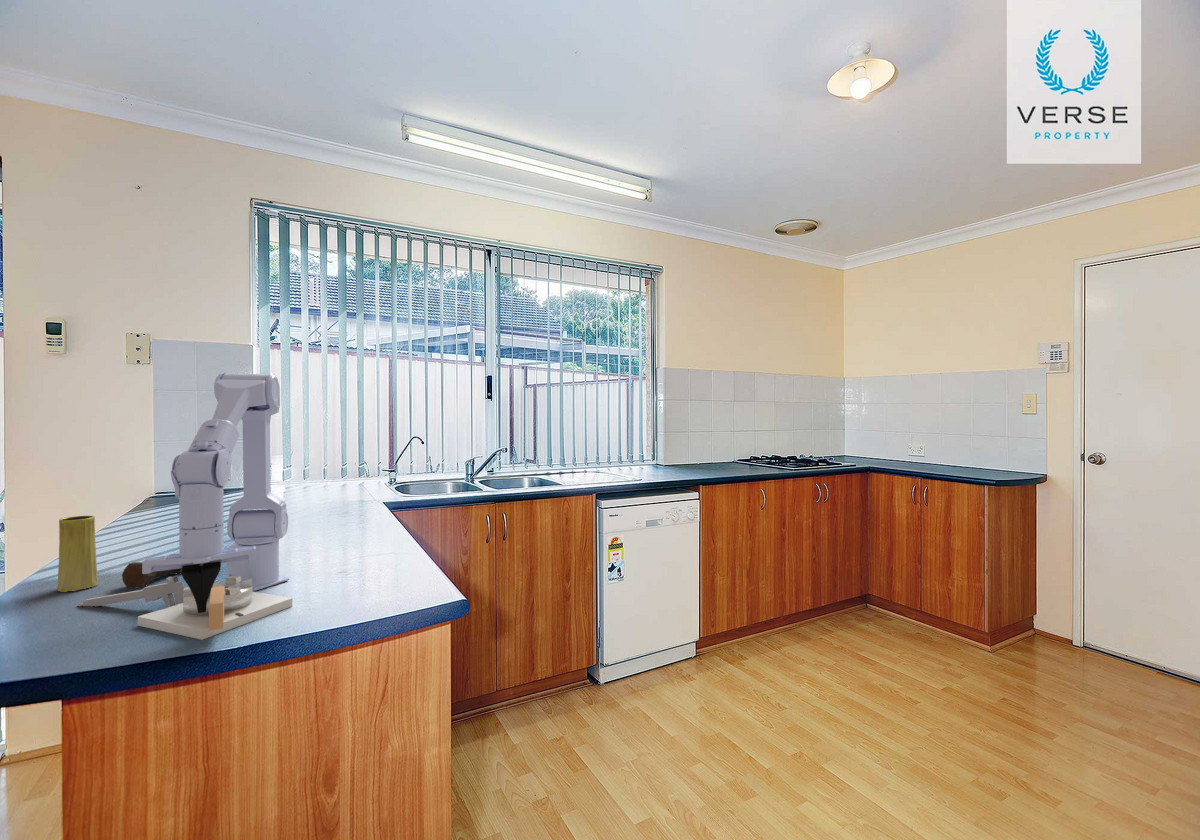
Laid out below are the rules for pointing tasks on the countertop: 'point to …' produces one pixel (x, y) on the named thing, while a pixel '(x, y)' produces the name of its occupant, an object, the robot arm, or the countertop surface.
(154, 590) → the caliper
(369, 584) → the countertop surface
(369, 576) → the countertop surface
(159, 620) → the cap plate
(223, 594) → the ring clamp with plank
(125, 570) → the bolt
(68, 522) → the vase
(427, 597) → the countertop surface
